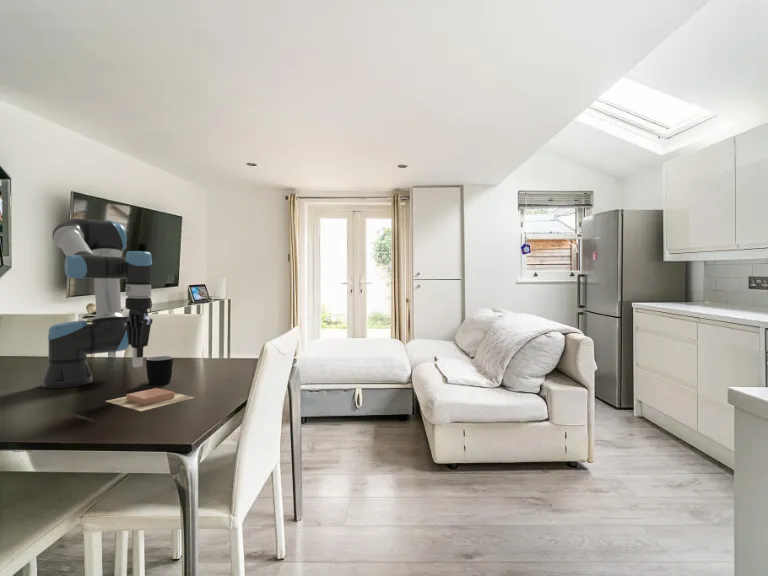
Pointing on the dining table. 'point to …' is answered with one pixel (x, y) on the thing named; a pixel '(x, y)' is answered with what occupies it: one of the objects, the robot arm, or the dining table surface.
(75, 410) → the dining table surface
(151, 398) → the tile
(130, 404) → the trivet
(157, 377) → the mug
